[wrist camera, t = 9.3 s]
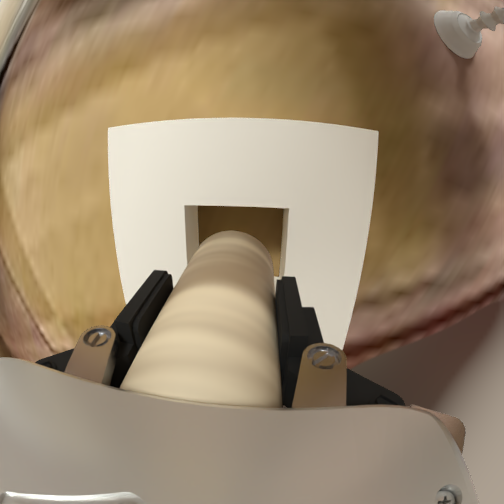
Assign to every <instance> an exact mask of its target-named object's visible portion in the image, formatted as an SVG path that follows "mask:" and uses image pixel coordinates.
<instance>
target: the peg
mask: <svg viewBox="0 0 504 504" xmlns="http://www.w3.org/2000/svg"><path fill="white" fill-rule="evenodd" d="M120 389H124V390H129V391H133V392H138V393H142V394H147V395H153V396H158V397H164V398H170V399H176V400H183V401H190V402H198V403H207V404H216V405H227V406H241V407H262V408H283V405H282V387H281V370H280V362H279V348H278V332H277V317H276V303H275V284H274V272H273V263H272V259H271V256H270V254H269V252H268V250H267V249H266V247H265V246H264V245H263V244H262V243H261V242H260V241H259V240H258V239H256V238H255V237H253V236H251V235H249V234H247V233H244V232H240V231H222V232H219V233H216V234H213V235H211V236H210V237H208V238H207V239H205V240H204V241H203V242H202V243H201V244H200V246H199V247H198V249H197V250H196V252H195V254H194V255H193V257H192V258H191V260H190V262H189V263H188V265H187V267H186V268H185V270H184V272H183V273H182V275H181V277H180V279H179V280H178V282H177V284H176V285H175V287H174V289H173V290H172V292H171V294H170V296H169V297H168V299H167V301H166V303H165V304H164V306H163V308H162V310H161V311H160V313H159V315H158V317H157V319H156V320H155V322H154V324H153V326H152V327H151V329H150V331H149V333H148V335H147V337H146V338H145V340H144V342H143V344H142V346H141V348H140V350H139V351H138V353H137V355H136V357H135V359H134V361H133V363H132V365H131V367H130V368H129V370H128V372H127V374H126V376H125V378H124V380H123V382H122V384H121V386H120Z"/></svg>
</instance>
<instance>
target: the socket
mask: <svg viewBox="0 0 504 504" xmlns="http://www.w3.org/2000/svg"><path fill="white" fill-rule="evenodd" d="M378 134H379V131H374V130H369V129H363V128H357V127H350V126H344V125H336V124H328V123H320V122H310V121H299V120H285V119H267V118H199V119H181V120H168V121H157V122H147V123H139V124H131V125H124V126H117V127H111V128H108V166H109V186H110V200H111V211H112V221H113V230H114V238H115V245H116V252H117V259H118V265H119V271H120V277H121V282H122V287H123V292H124V297H125V302H126V305H127V304H128V302H129V301H130V300H131V298H132V297H133V296H134V294H135V293H136V292H137V291H138V289H139V288H140V287H141V286H142V284H143V283H144V282H145V281H146V279H147V278H148V277H149V276H150V274H151V273H152V272H153V271H154V270H164V271H167V272H168V274H171V275H172V280H173V289H174V287H175V285H176V284H177V282H178V280H179V279H180V277H181V275H182V273H183V272H184V270H185V268H186V267H187V265H188V263H189V262H190V260H191V258H192V257H193V255H194V254H195V252H196V250H197V249H198V247H199V230H198V205H201V206H244V207H270V208H284V214H283V230H282V244H281V258H280V271H279V277H274V284H275V294H276V282H277V279H278V280H281V279H282V276H290V277H295V278H296V282H297V286H298V291H299V295H300V299H301V304H302V307H314V309H315V313H316V316H317V320H318V323H319V327H320V330H321V334H322V337H323V341H324V343H327V344H332V345H334V346H336V347H338V348H340V349H341V350H343V346H344V343H345V339H346V335H347V332H348V328H349V324H350V320H351V316H352V312H353V308H354V304H355V300H356V295H357V291H358V286H359V282H360V277H361V272H362V267H363V262H364V256H365V251H366V245H367V239H368V233H369V226H370V219H371V212H372V204H373V196H374V187H375V177H376V166H377V152H378Z"/></svg>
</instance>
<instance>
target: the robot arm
mask: <svg viewBox="0 0 504 504" xmlns="http://www.w3.org/2000/svg"><path fill="white" fill-rule="evenodd" d="M172 290H173V280H172V275H171V274H168V272H167V271H164V270H154V271H153V272H152V273H151V274H150V276H149V277H148V278H147V279H146V281H145V282H144V283H143V284H142V286H141V287H140V288H139V289H138V291H137V292H136V293H135V294H134V296H133V297H132V298H131V300H130V301H129V302H128V304H127V305H126V306H125V307H124V309H123V310H122V311H121V313H120V314H119V315H118V317H117V318H116V319H115V321H114V323H113V324H112V325H111V327H108V326H94V327H91V328H89V329H87V330H86V331H84V332H83V333H82V334H81V336H80V338H79V340H78V342H77V344H76V346H75V348H74V349H71V350H68V351H65V352H62V353H59V354H56V355H53V356H50V357H47V358H44V359H41V360H39V361H37V362H35V363H34V362H31V361H27V360H23V359H18V358H11V357H0V504H479V501H478V498H477V494H476V491H475V488H474V484H473V482H472V479H471V475H470V473H469V470H468V468H467V465H466V463H465V461H464V458H463V456H462V452H463V446H464V440H465V434H466V432H465V426H464V424H463V422H462V421H461V420H460V419H458V418H456V417H453V416H450V415H446V414H443V413H439V412H436V411H432V410H429V409H425V408H423V407H419V406H416V405H411V406H410V407H407V406H405V403H404V401H403V400H402V399H401V398H400V396H398V395H397V394H395V393H394V392H392V391H390V390H388V389H386V388H384V387H382V386H380V385H378V384H376V383H374V382H372V381H370V380H368V379H366V378H364V377H362V376H360V375H359V374H357V373H355V372H353V371H351V370H349V369H347V365H346V356H345V354H344V352H343V351H342V350H341V349H340V348H338V347H336V346H334V345H332V344H327V343H324V341H323V337H322V334H321V330H320V327H319V323H318V320H317V316H316V313H315V309H314V307H302V304H301V299H300V295H299V291H298V286H297V282H296V278H295V277H290V276H282V279H281V280H278V279H277V282H276V294H275V303H276V317H277V332H278V348H279V362H280V370H281V387H282V405H285V406H286V407H287V408H262V407H241V406H227V405H216V404H207V403H198V402H190V401H183V400H176V399H170V398H164V397H158V396H153V395H147V394H142V393H138V392H133V391H129V390H124V389H120V386H121V384H122V382H123V380H124V378H125V376H126V374H127V372H128V370H129V368H130V367H131V365H132V363H133V361H134V359H135V357H136V355H137V353H138V351H139V350H140V348H141V346H142V344H143V342H144V340H145V338H146V337H147V335H148V333H149V331H150V329H151V327H152V326H153V324H154V322H155V320H156V319H157V317H158V315H159V313H160V311H161V310H162V308H163V306H164V304H165V303H166V301H167V299H168V297H169V296H170V294H171V292H172Z"/></svg>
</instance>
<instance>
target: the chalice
mask: <svg viewBox="0 0 504 504" xmlns="http://www.w3.org/2000/svg"><path fill="white" fill-rule="evenodd" d="M498 23H500V24H504V8H499V7H495V8H494V11H493V12H492V13H491V14H487V13H485V12H483V11H481V12H480V17H479V18H478V19H476V20H473V19H471V18H470V17H469V16H468V15H466V14H464V13H461V12H459V11H438V12H436V13H435V16H434V24H435V27H436V30H437V32H438V34H439V36H440V37H441V39H442V40H443V42H444V43H445V44H446V45H447V47H448V48H449V49H451V50H452V51H453V52H454V53H455V54H457V55H458V56H460V57H463V58H466V59H468V58H472V57H473V56H474V55H475V52H476V51H477V50H478V48H479V47H480V46H481V43H482V35H481V30H482V29H485V28H489V29H490V30H492V31H495V29H496V25H497V24H498Z"/></svg>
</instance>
